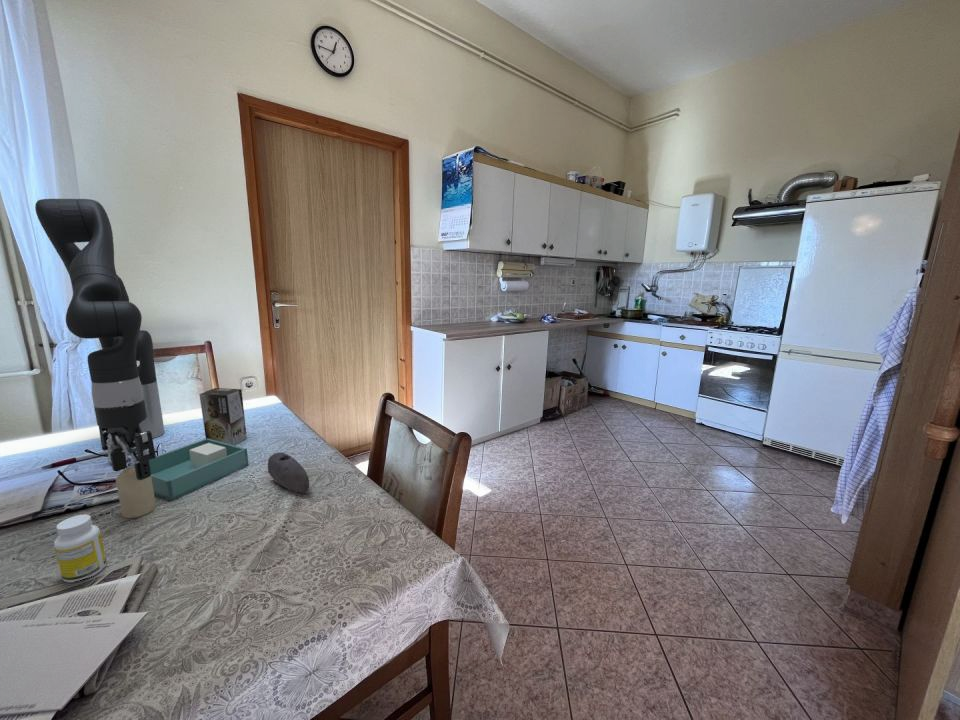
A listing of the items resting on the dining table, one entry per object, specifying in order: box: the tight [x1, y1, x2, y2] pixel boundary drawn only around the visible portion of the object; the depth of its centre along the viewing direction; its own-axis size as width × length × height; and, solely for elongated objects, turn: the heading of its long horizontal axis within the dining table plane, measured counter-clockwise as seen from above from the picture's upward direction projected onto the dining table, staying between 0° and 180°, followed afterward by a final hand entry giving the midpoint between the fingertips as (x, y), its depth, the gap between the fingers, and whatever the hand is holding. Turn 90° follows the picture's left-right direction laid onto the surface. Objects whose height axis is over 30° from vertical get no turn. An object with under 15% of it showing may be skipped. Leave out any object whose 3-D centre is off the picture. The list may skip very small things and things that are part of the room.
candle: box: [115, 465, 157, 519], centre depth 82 cm, size 6×6×10 cm
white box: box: [189, 443, 227, 468], centre depth 102 cm, size 7×5×4 cm
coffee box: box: [199, 387, 248, 446], centre depth 117 cm, size 9×6×16 cm
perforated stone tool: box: [267, 452, 310, 494], centre depth 94 cm, size 15×5×7 cm, turn 51°
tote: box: [127, 438, 249, 502], centre depth 98 cm, size 16×19×5 cm
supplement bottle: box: [53, 514, 107, 583], centre depth 65 cm, size 5×5×10 cm
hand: (132, 473), depth 81 cm, fingers open, 8 cm apart
